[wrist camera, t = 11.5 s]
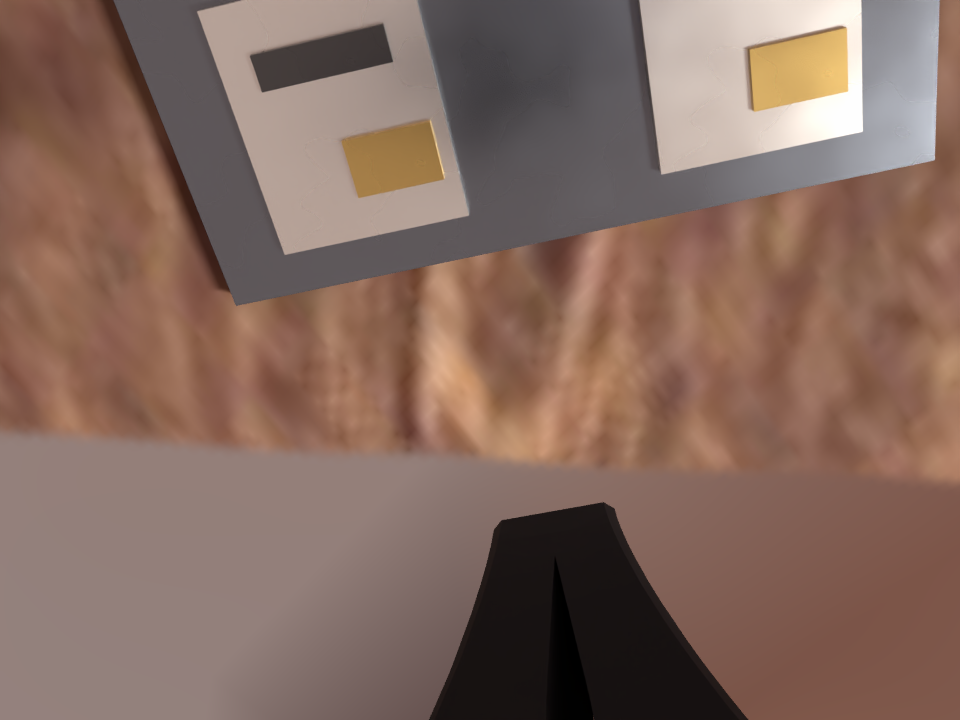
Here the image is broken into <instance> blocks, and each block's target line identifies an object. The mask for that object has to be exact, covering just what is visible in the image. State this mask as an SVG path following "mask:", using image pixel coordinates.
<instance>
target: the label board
mask: <svg viewBox="0 0 960 720" xmlns="http://www.w3.org/2000/svg"><path fill="white" fill-rule="evenodd" d="M114 3H115V5H116V8H117V10H118V13H119V15H120V18H121V20H122V23H123V25H124V28H125V30H126V33H127V35H128V38H129V40H130V43H131V45H132V48H133V50H134V53H135V55H136V58H137V60H138V63H139V65H140V68H141V70H142V73H143V75H144V78H145V80H146V83H147V85H148V88H149V90H150V93H151V95H152V98H153V100H154V103H155V105H156V108H157V110H158V113H159V115H160V118H161V120H162V123H163V125H164V128H165V130H166V133H167V135H168V138H169V140H170V142H171V145H172V147H173V150H174V152H175V155H176V157H177V160H178V162H179V165H180V167H181V170H182V172H183V175H184V177H185V180H186V182H187V185H188V187H189V190H190V192H191V195H192V197H193V200H194V202H195V205H196V207H197V210H198V212H199V215H200V217H201V220H202V222H203V225H204V227H205V230H206V232H207V235H208V237H209V240H210V242H211V245H212V247H213V250H214V252H215V255H216V257H217V260H218V262H219V265H220V267H221V270H222V272H223V275H224V277H225V279H226V282H227V284H228V287H229V289H230V292H231V294H232V297H233V299H234V302H235V304H236V306H238V305H242V304H247V303H252V302H257V301H262V300H266V299H271V298H276V297H281V296H286V295H290V294H295V293H300V292H305V291H310V290H314V289H319V288H324V287H329V286H334V285H338V284H343V283H348V282H353V281H358V280H362V279H367V278H372V277H377V276H382V275H386V274H391V273H396V272H401V271H406V270H410V269H415V268H420V267H425V266H430V265H434V264H439V263H444V262H449V261H454V260H458V259H463V258H468V257H473V256H478V255H482V254H487V253H492V252H497V251H502V250H506V249H511V248H516V247H521V246H526V245H530V244H535V243H540V242H545V241H550V240H554V239H559V238H564V237H569V236H574V235H578V234H583V233H588V232H593V231H598V230H602V229H607V228H612V227H617V226H622V225H626V224H631V223H636V222H641V221H646V220H650V219H655V218H660V217H665V216H670V215H674V214H679V213H684V212H689V211H694V210H698V209H703V208H708V207H713V206H718V205H722V204H727V203H732V202H737V201H742V200H746V199H751V198H756V197H761V196H766V195H770V194H775V193H780V192H785V191H790V190H794V189H799V188H804V187H809V186H814V185H818V184H823V183H828V182H833V181H838V180H842V179H847V178H852V177H857V176H862V175H866V174H871V173H876V172H881V171H886V170H890V169H895V168H900V167H905V166H910V165H914V164H919V163H924V162H929V161H934V160H935V130H936V98H937V65H938V33H939V0H114Z"/></svg>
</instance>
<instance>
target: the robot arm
mask: <svg viewBox="0 0 960 720" xmlns="http://www.w3.org/2000/svg"><path fill="white" fill-rule="evenodd" d="M593 716H594V719H593ZM429 720H748V719H747V718H746V716H745V715H744V714H743V713H742V712H741V710H740V709H739V708H738V707H737V705H736V704H735V703H734V702H733V701H732V699H731V698H730V697H729V696H728V694H727V693H726V692H725V690H724V689H723V688H722V686H721V685H720V684H719V683H718V681H717V680H716V679H715V677H714V676H713V675H712V674H711V673H710V671H709V670H708V668H707V667H706V666H705V664H704V663H703V662H702V661H701V659H700V658H699V656H698V655H697V654H696V652H695V651H694V650H693V648H692V647H691V645H690V644H689V643H688V641H687V640H686V638H685V637H684V635H683V634H682V632H681V631H680V629H679V628H678V626H677V625H676V623H675V622H674V620H673V619H672V617H671V616H670V614H669V613H668V611H667V610H666V608H665V607H664V606H663V604H662V603H661V601H660V600H659V598H658V596H657V595H656V593H655V591H654V590H653V588H652V587H651V585H650V583H649V582H648V580H647V578H646V576H645V575H644V573H643V571H642V569H641V568H640V566H639V564H638V562H637V561H636V559H635V557H634V555H633V553H632V551H631V549H630V547H629V545H628V543H627V541H626V539H625V536H624V534H623V532H622V529H621V527H620V524H619V522H618V519H617V516H616V513H615V509H614V508H612V507H611V506H609V505H607V504H606V503H604V502H603V503H597V504H591V505H586V506H581V507H574V508H569V509H563V510H557V511H552V512H546V513H541V514H535V515H529V516H524V517H518V518H512V519H507V520H502V521H501V522H500V523H499V524H498V525H497V527H496V528H495V529H494V533H493V538H492V543H491V548H490V552H489V557H488V560H487V564H486V568H485V571H484V575H483V579H482V582H481V585H480V588H479V592H478V595H477V598H476V601H475V604H474V607H473V610H472V614H471V616H470V619H469V622H468V625H467V627H466V630H465V633H464V635H463V638H462V641H461V643H460V646H459V649H458V652H457V655H456V657H455V660H454V663H453V665H452V668H451V670H450V673H449V675H448V678H447V680H446V682H445V685H444V687H443V689H442V691H441V694H440V696H439V698H438V701H437V703H436V705H435V707H434V710H433V712H432V715H431V717H430V719H429Z"/></svg>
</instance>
